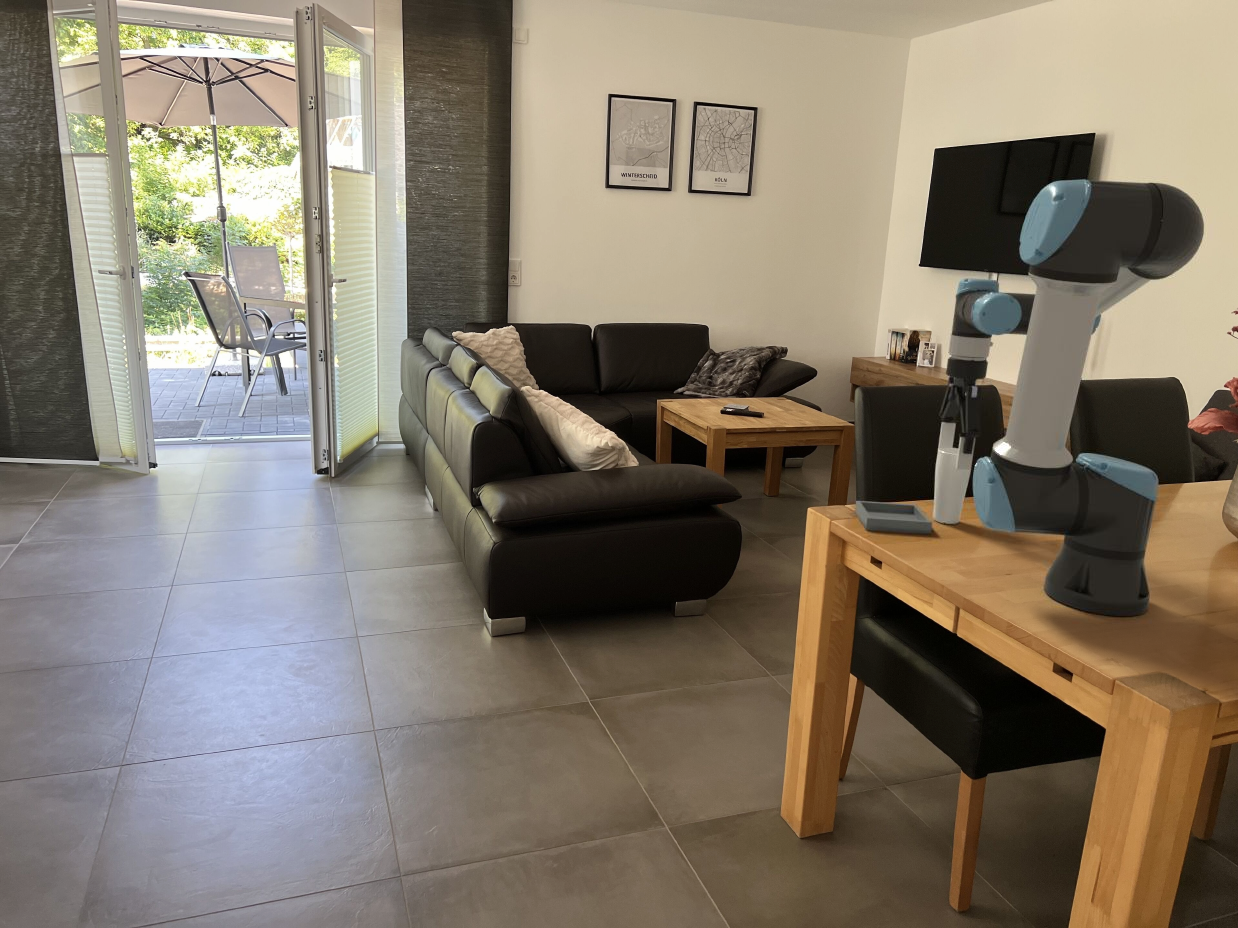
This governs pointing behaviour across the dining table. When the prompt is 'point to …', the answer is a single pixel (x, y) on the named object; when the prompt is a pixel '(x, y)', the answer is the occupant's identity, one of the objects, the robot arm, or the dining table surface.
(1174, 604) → the dining table surface
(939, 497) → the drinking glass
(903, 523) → the tray
